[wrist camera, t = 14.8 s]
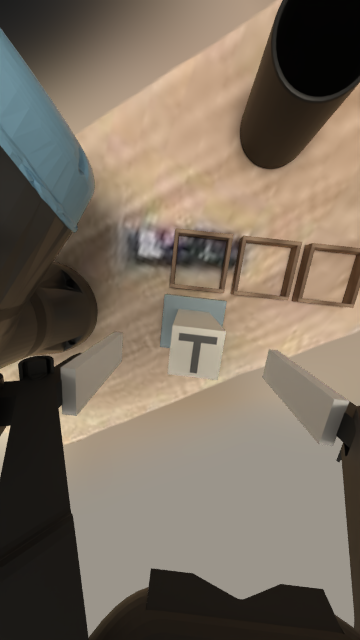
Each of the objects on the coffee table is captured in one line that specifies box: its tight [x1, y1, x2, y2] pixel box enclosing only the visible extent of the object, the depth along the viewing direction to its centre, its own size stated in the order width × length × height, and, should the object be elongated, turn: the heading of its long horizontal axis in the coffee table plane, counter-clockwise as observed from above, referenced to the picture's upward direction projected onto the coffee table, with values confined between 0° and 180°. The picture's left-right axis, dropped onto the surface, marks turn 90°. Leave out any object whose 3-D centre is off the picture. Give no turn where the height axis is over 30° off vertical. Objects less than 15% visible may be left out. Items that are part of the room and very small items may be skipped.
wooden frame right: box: [292, 243, 360, 308], centre depth 26 cm, size 8×8×2 cm
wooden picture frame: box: [170, 228, 233, 293], centre depth 26 cm, size 8×8×2 cm
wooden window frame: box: [231, 236, 302, 300], centre depth 26 cm, size 8×8×2 cm
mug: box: [241, 0, 360, 168], centre depth 18 cm, size 9×12×9 cm
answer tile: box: [160, 294, 227, 348], centre depth 28 cm, size 10×9×1 cm
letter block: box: [168, 309, 226, 380], centre depth 22 cm, size 5×5×12 cm
